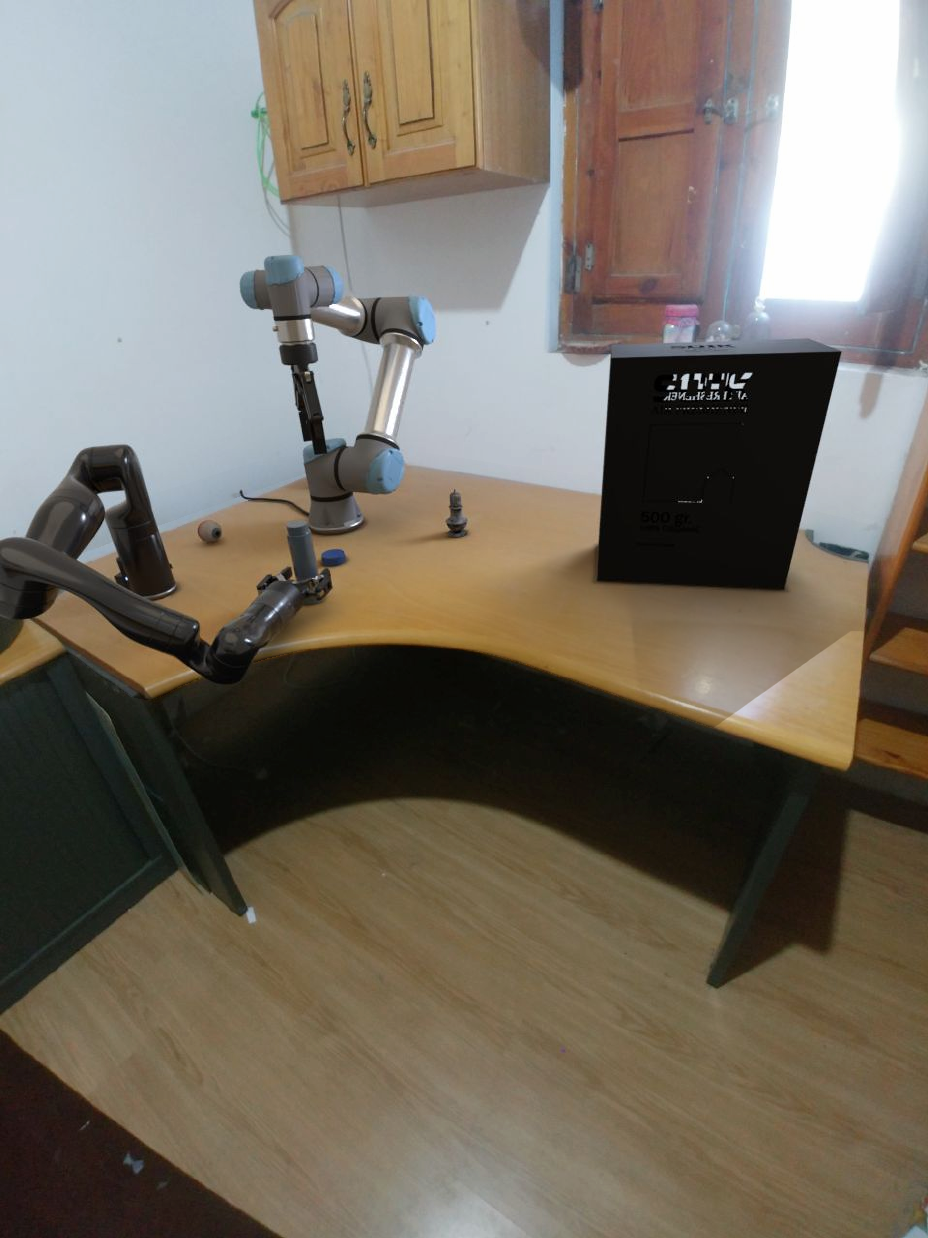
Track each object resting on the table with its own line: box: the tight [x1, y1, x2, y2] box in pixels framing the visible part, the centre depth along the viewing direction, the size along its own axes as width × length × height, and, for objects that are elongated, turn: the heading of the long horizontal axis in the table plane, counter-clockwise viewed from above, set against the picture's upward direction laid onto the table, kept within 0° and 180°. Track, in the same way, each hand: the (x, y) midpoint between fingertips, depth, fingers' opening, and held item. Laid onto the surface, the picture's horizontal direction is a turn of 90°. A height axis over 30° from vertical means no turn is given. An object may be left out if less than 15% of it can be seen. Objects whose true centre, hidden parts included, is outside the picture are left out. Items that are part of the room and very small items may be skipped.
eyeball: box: [197, 519, 223, 544], centre depth 161 cm, size 6×6×6 cm
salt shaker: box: [444, 488, 469, 538], centre depth 156 cm, size 6×6×12 cm
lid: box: [320, 548, 347, 567], centre depth 147 cm, size 6×6×2 cm
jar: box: [285, 519, 324, 606], centre depth 127 cm, size 5×5×17 cm
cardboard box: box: [596, 337, 842, 591], centre depth 125 cm, size 38×20×45 cm, turn 78°
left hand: (309, 571), depth 129 cm, fingers open, 8 cm apart
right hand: (315, 447), depth 134 cm, fingers open, 13 cm apart
